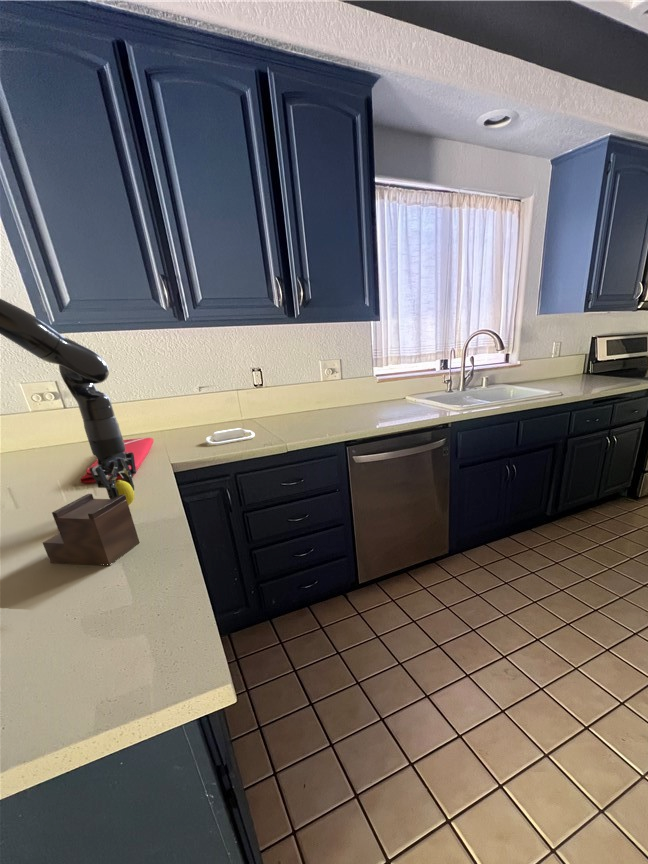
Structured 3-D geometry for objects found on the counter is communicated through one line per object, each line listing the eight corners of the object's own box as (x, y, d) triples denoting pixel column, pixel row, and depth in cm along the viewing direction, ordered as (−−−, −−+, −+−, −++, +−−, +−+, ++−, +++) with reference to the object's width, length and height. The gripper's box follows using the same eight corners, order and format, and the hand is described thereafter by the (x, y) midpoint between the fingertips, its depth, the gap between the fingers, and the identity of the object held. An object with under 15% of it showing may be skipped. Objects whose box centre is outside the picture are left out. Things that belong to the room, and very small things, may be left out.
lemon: (125, 512, 115) (116, 484, 112) (110, 509, 117) (101, 482, 114) (142, 504, 120) (134, 477, 116) (127, 501, 122) (119, 475, 118)
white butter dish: (209, 449, 172) (208, 441, 170) (203, 441, 177) (202, 432, 175) (257, 441, 183) (257, 433, 180) (250, 432, 188) (250, 425, 185)
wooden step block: (50, 562, 92) (29, 511, 87) (85, 540, 101) (67, 492, 96) (110, 565, 90) (91, 513, 85) (139, 542, 99) (125, 494, 94)
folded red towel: (79, 484, 135) (76, 473, 133) (113, 449, 171) (110, 440, 169) (134, 478, 139) (131, 467, 138) (156, 445, 175) (154, 436, 173)
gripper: (110, 428, 117) (127, 485, 124) (69, 442, 104) (91, 506, 111) (135, 428, 116) (151, 486, 123) (97, 443, 103) (117, 506, 110)
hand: (123, 495), depth 117 cm, fingers closed on lemon, 5 cm apart
